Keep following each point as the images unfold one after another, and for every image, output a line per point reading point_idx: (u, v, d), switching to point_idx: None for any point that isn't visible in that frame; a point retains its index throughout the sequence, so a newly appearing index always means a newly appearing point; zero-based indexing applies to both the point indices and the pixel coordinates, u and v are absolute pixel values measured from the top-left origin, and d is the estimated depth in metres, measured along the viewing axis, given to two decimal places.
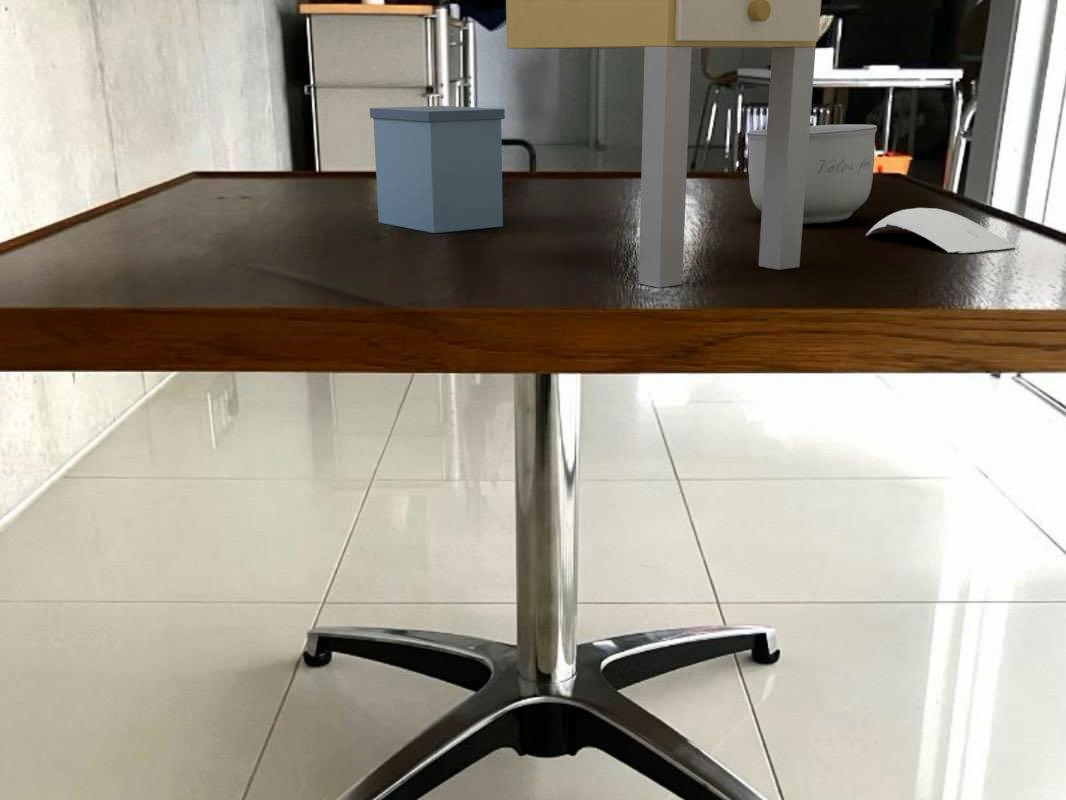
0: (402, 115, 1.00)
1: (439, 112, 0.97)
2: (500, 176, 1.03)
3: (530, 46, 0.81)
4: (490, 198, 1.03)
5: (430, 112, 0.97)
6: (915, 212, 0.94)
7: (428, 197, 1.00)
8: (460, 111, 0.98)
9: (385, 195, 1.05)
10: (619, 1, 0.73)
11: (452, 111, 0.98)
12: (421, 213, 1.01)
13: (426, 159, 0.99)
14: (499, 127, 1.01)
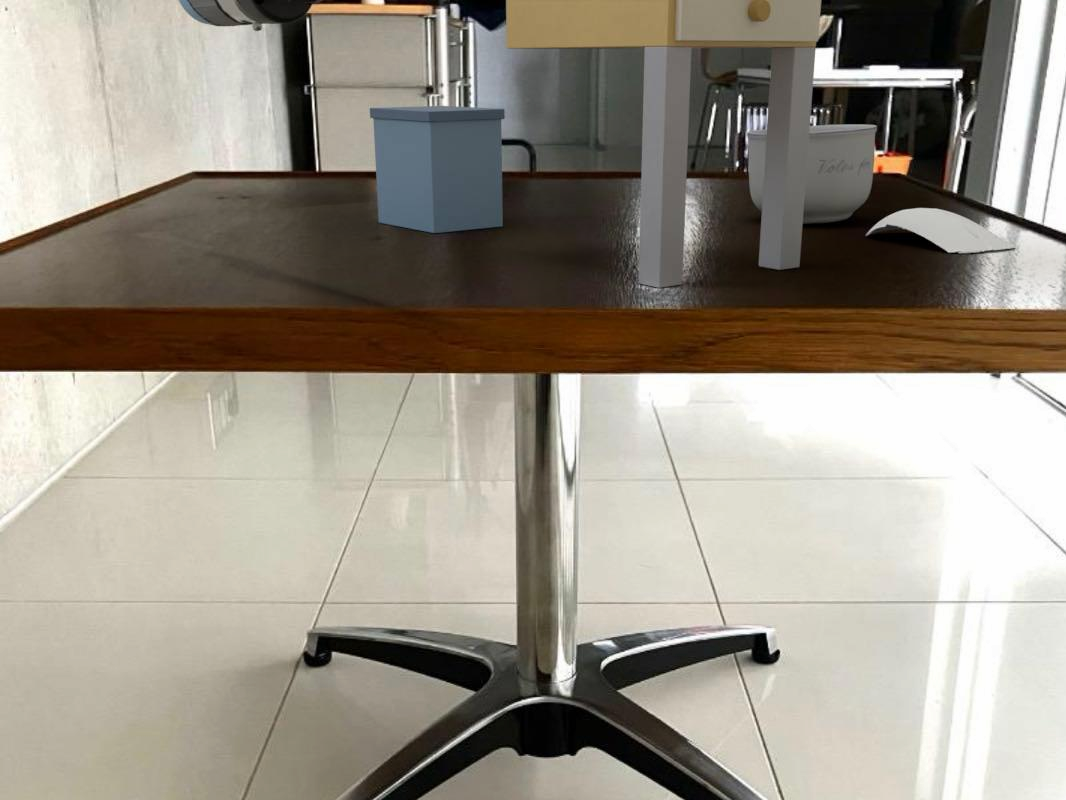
0: (402, 115, 1.00)
1: (439, 112, 0.97)
2: (500, 176, 1.03)
3: (530, 46, 0.81)
4: (490, 198, 1.03)
5: (430, 112, 0.97)
6: (915, 212, 0.94)
7: (428, 197, 1.00)
8: (460, 111, 0.98)
9: (385, 195, 1.05)
10: (619, 1, 0.73)
11: (452, 111, 0.98)
12: (421, 213, 1.01)
13: (426, 159, 0.99)
14: (499, 127, 1.01)
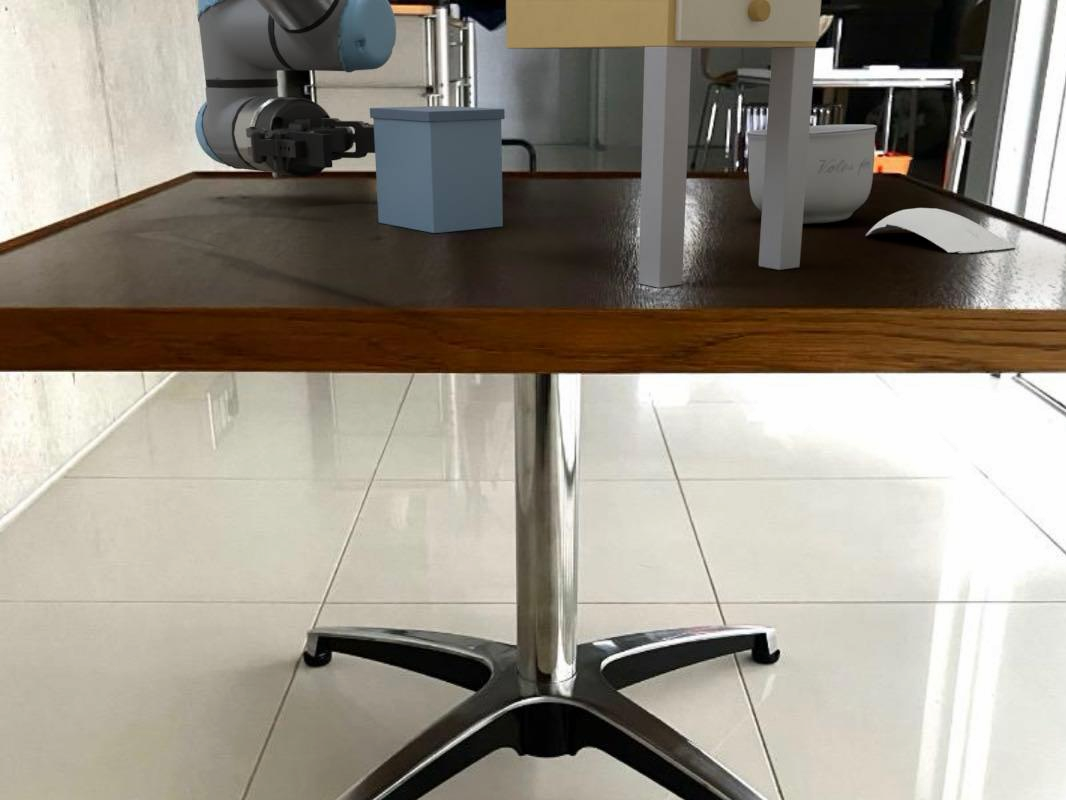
0: (402, 115, 1.00)
1: (439, 112, 0.97)
2: (500, 176, 1.03)
3: (530, 46, 0.81)
4: (490, 198, 1.03)
5: (430, 112, 0.97)
6: (915, 212, 0.94)
7: (428, 197, 1.00)
8: (460, 111, 0.98)
9: (385, 195, 1.05)
10: (619, 1, 0.73)
11: (452, 111, 0.98)
12: (421, 213, 1.01)
13: (426, 159, 0.99)
14: (499, 127, 1.01)
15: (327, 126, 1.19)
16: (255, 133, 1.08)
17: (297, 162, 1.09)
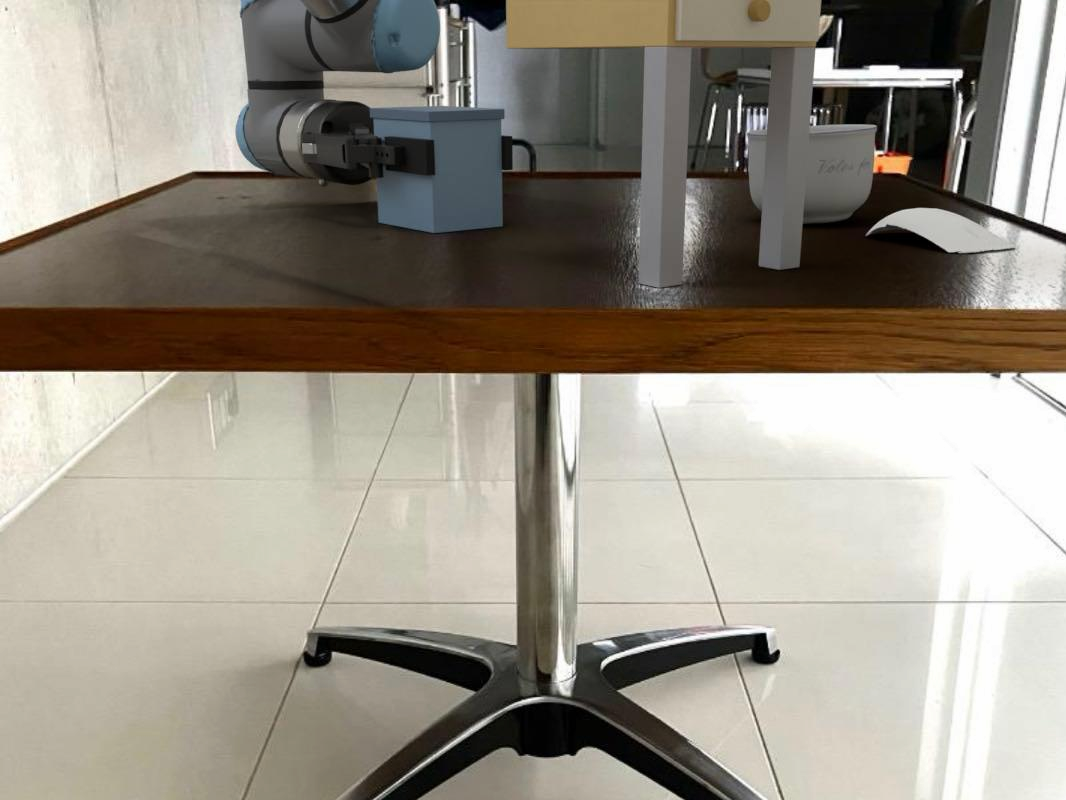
0: (402, 115, 1.00)
1: (439, 112, 0.97)
2: (500, 176, 1.03)
3: (530, 46, 0.81)
4: (490, 198, 1.03)
5: (430, 112, 0.97)
6: (915, 212, 0.94)
7: (428, 197, 1.00)
8: (460, 111, 0.98)
9: (385, 195, 1.05)
10: (619, 1, 0.73)
11: (452, 111, 0.98)
12: (421, 213, 1.01)
13: None
14: (499, 127, 1.01)
15: None
16: (352, 138, 1.01)
17: (394, 169, 1.02)
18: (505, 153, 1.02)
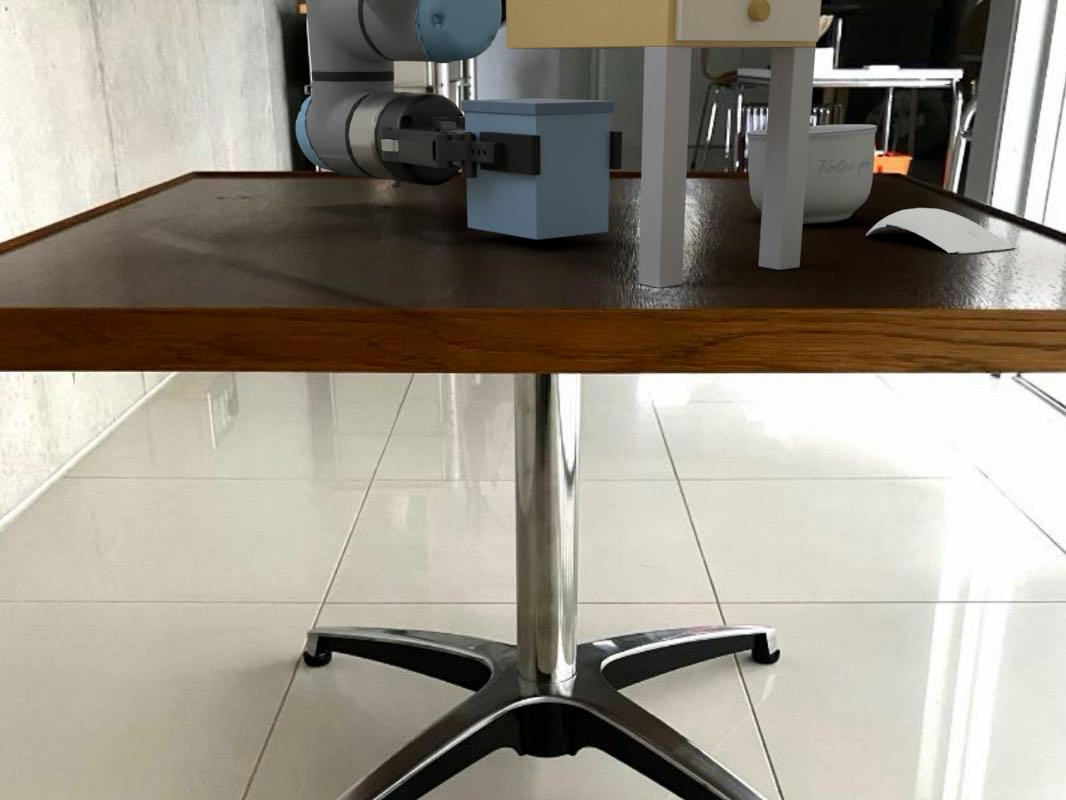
0: (501, 108, 0.89)
1: (546, 104, 0.87)
2: (607, 176, 0.92)
3: (530, 46, 0.81)
4: (596, 200, 0.92)
5: (537, 104, 0.86)
6: (915, 212, 0.94)
7: (531, 200, 0.89)
8: (568, 103, 0.88)
9: (476, 197, 0.95)
10: (619, 1, 0.73)
11: (560, 103, 0.88)
12: (521, 217, 0.91)
13: None
14: (608, 121, 0.91)
15: None
16: (444, 134, 0.91)
17: (491, 168, 0.91)
18: (614, 150, 0.91)
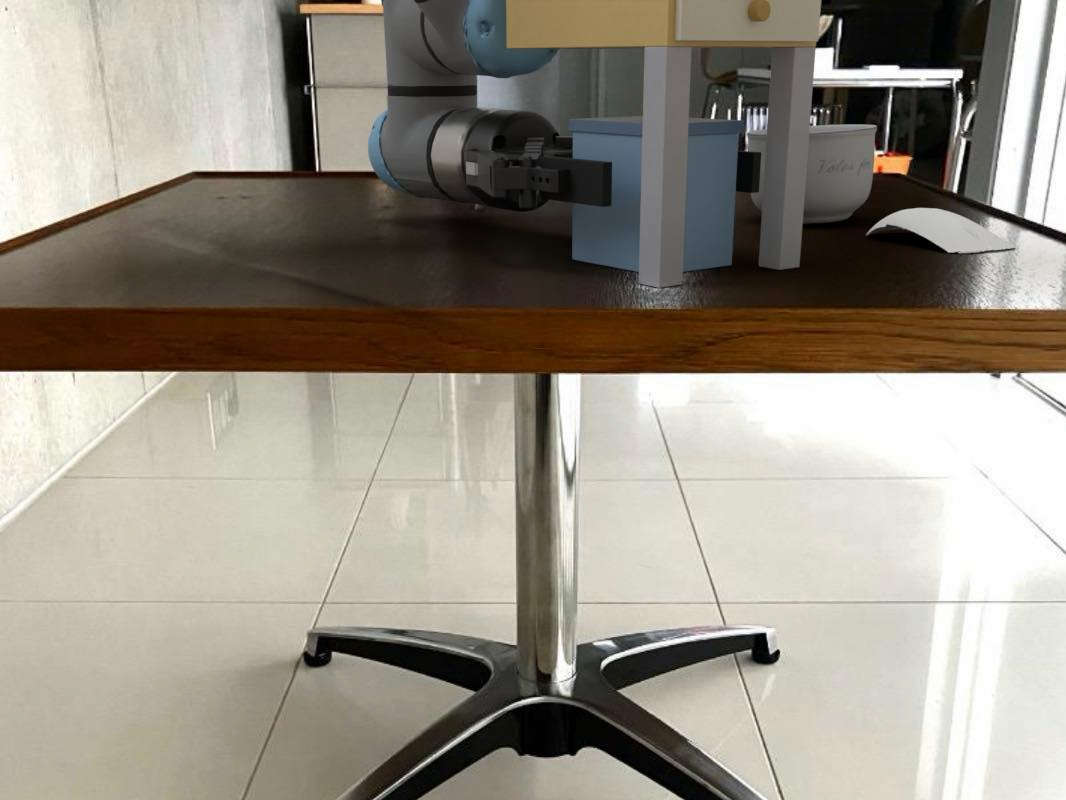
0: (619, 128, 0.80)
1: None
2: (733, 203, 0.83)
3: (530, 46, 0.81)
4: (720, 231, 0.83)
5: None
6: (915, 212, 0.94)
7: None
8: (695, 124, 0.78)
9: (584, 226, 0.85)
10: (619, 1, 0.73)
11: None
12: (638, 250, 0.81)
13: None
14: (736, 143, 0.81)
15: (564, 147, 0.92)
16: (499, 159, 0.81)
17: (553, 197, 0.81)
18: (753, 172, 0.85)
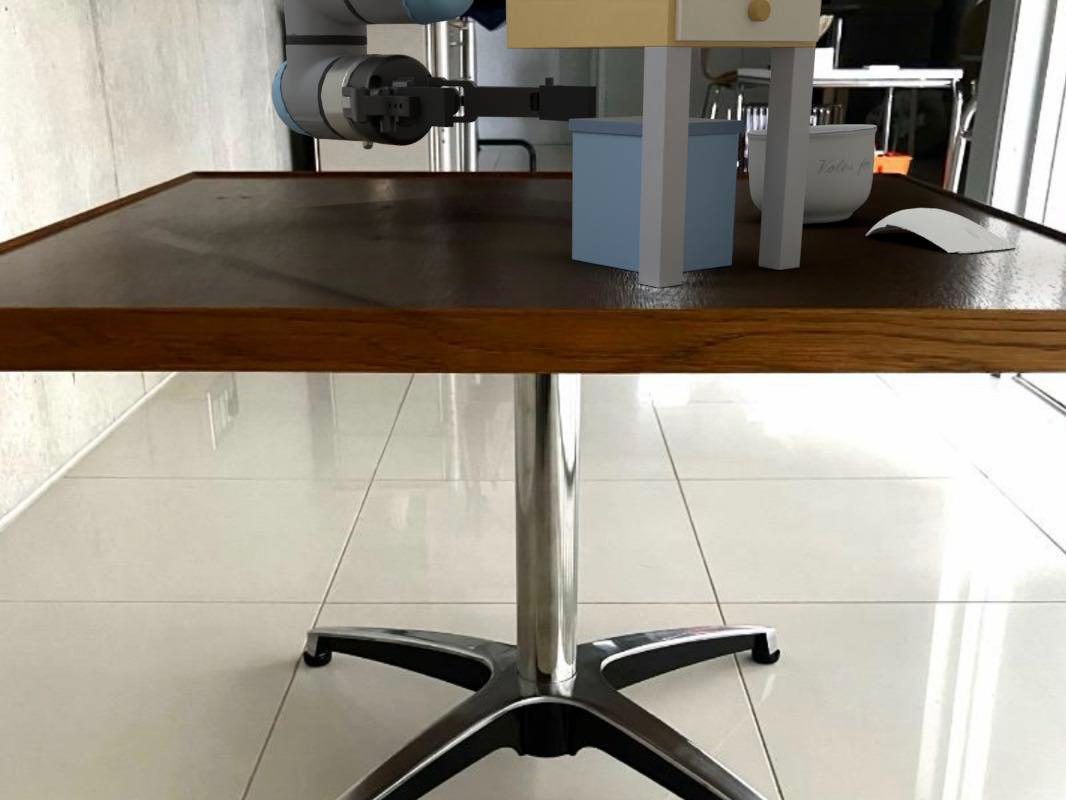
0: (619, 128, 0.80)
1: None
2: (733, 203, 0.83)
3: (530, 46, 0.81)
4: (720, 231, 0.83)
5: None
6: (915, 212, 0.94)
7: None
8: (695, 124, 0.78)
9: (584, 226, 0.85)
10: (619, 1, 0.73)
11: None
12: (638, 250, 0.81)
13: None
14: (736, 143, 0.81)
15: (432, 86, 1.04)
16: (360, 88, 0.93)
17: (408, 122, 0.93)
18: (589, 104, 0.97)
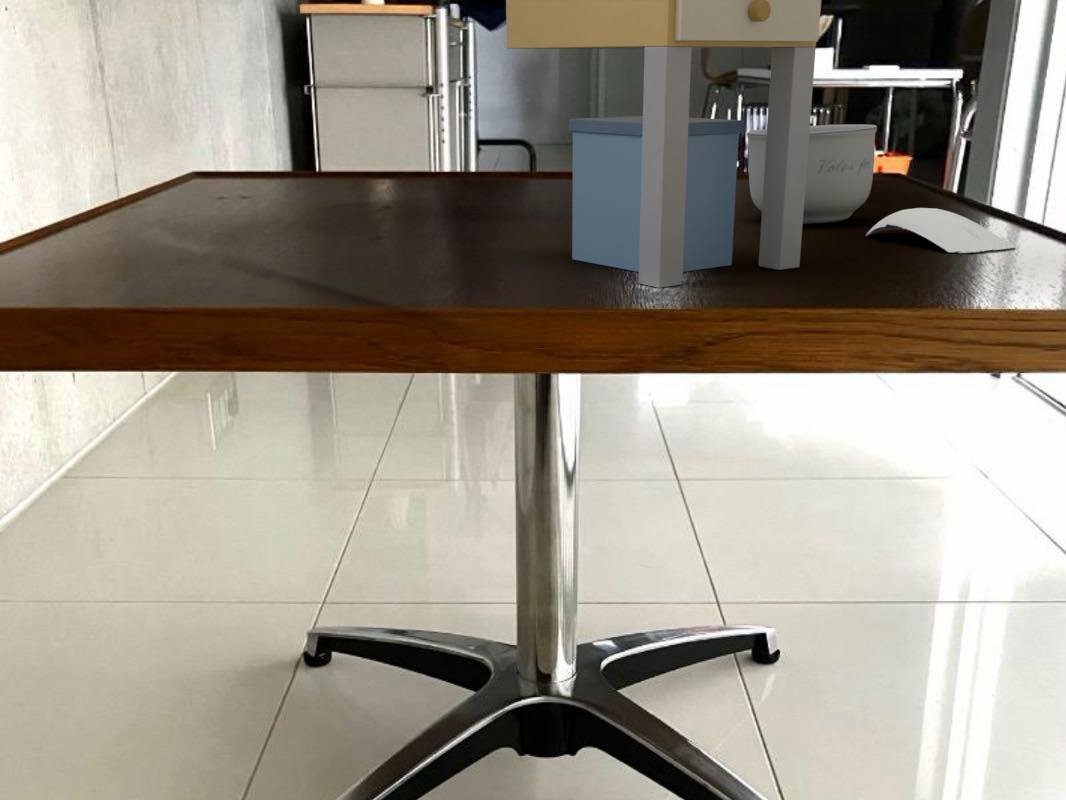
0: (619, 128, 0.80)
1: None
2: (733, 203, 0.83)
3: (530, 46, 0.81)
4: (720, 231, 0.83)
5: None
6: (915, 212, 0.94)
7: None
8: (695, 124, 0.78)
9: (584, 226, 0.85)
10: (619, 1, 0.73)
11: None
12: (638, 250, 0.81)
13: None
14: (736, 143, 0.81)
15: None
16: None
17: None
18: None
